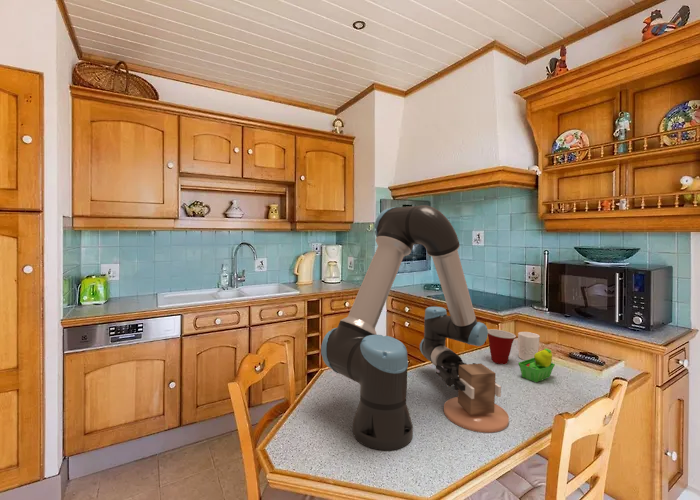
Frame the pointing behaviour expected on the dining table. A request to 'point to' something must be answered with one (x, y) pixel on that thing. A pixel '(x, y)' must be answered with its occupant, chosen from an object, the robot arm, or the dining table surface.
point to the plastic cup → (500, 345)
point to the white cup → (528, 345)
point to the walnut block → (477, 389)
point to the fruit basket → (537, 366)
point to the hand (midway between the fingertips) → (486, 392)
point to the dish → (476, 418)
